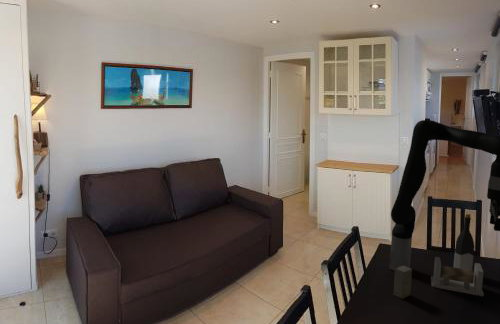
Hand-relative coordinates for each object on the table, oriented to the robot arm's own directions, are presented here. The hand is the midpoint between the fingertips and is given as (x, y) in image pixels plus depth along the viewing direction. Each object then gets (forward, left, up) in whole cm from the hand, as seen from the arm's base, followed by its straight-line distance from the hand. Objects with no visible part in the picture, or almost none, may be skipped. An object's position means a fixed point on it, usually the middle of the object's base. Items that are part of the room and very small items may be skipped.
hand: (494, 227), depth 142 cm
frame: (-10, +11, -33) cm, 36 cm away
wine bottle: (-6, +27, -33) cm, 43 cm away
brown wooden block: (-10, +11, -29) cm, 33 cm away
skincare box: (-32, -7, -33) cm, 47 cm away
